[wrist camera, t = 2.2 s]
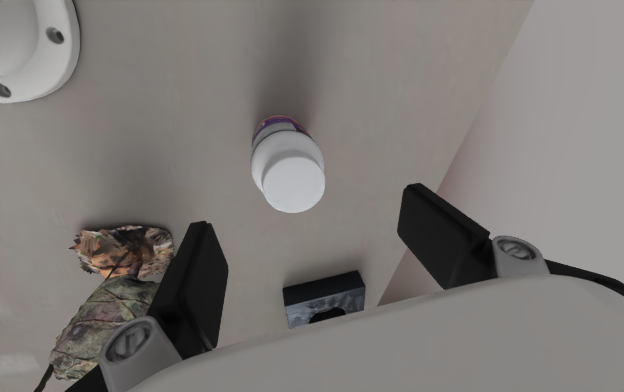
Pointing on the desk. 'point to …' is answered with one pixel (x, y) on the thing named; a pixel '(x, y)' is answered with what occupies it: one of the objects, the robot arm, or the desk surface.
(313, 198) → the pill bottle
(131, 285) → the plant with pod
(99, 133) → the desk surface
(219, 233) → the desk surface
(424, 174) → the desk surface
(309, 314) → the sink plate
